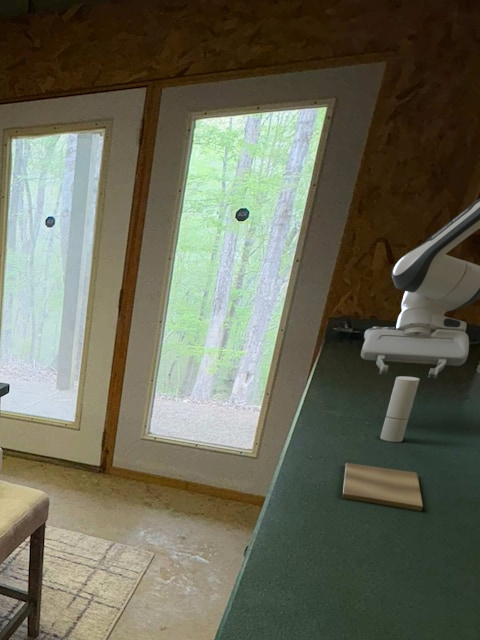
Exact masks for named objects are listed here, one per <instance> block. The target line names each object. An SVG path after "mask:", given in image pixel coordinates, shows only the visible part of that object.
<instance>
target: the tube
mask: <svg viewBox="0 0 480 640" xmlns="http://www.w3.org/2000/svg"><path fill="white" fill-rule="evenodd" d="M420 380H421V379H420V378H419V377H414V376H405V375H404V376H402V375H401V376H396V377H395V381H394V385H393V387H392V391H391V396H390V400H389V404H388V407H387V411H386V414H385V415H386V416H385V418H384V422H383V425H382V429H381V433H380V438H379V439H381V440H383V441H385V442H386V441H387V442H392V443H401V442H403V440H404V436H405V433H406V429H407V425H408V422H409V418H410V416H411V411H412V408H413V404H414V401H415V397H416V394H417V390H418V387H419V383H420Z"/></svg>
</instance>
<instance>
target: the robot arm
mask: <svg viewBox="0 0 480 640" xmlns="http://www.w3.org/2000/svg"><path fill="white" fill-rule="evenodd" d="M479 229H480V198H478V199H477V200H475V201H474V202H473V203H471V204H470V205H469V206H468V207H467V208H465V209H463V211H461V212H460V213H459V214H457V216H455V217H454V218H453V219H451V220H450V221H449V222H447V224H445V225H444V226H442V227H441V228H439V230H438V231H436V232H435V233H434V234H432V235H431V236H430V237H429V238H428V239H426V240H425V241H424V242H422V243H420V244H419V245H417V246H416V247H414V248H413V249H410V250H409V251H408V252H406V253H405V254H403V256H401V258H400V259H398V261H397V262H396V263H395V265H394V266H393V268H392V271H391V278H392V282H393V284H394V287H395V288H396V289H397V290H400V291H404V293H403V297H402V300H401V305H400V309H401V312H400V313H399V315H398V317H397V321H396V324H395V327H394V326H373V327H370V328H367V329H366V330H365V332H364V334H363V340H364V342H363V344H362V348H361V351H360V357H361V359H363V360H365V361H366V360H367V361H376V362H375V363H376V366H377V367H378V369H379V371H378V374H379V375H387V374H388V369H389V364H385V363H384V362H394V363H395V362H397V363H411V364H422V365H423V364H426V365H436V367H435V368H432V367H430V369H429V372H428V377H427V378H428V379H437V377H438V373H440V372H441V371H442V370H443V369H445V367H446V366H451V367H452V366H453V367H456V366H457V367H460V366H462V365H464V364H465V363H466V361H467V359H468V355H469V349H470V340H469V339H470V338H469V335H468V334H467V333H466V330H467V322H466V321H463V320H459V319H456V318H452V317H448V316H445V314H446V313H447V312H453V311H456V310H458V309H461V308H463V307H466V306H468V305H470V304H472V303H474V302H475V301H477V300H478V299H479V298H480V265H478V264H476V263H473V262H470V261H468V260H464V259H463V260H462V259H459V258H457V257H455V256H451V255H448V254H447V253H449V252H450V251H451V250H452V249H454V248H455V247H457V246H458V245H459V244H460V243H462V242H463V241H464V240H466V239H467V238H468V237H470V236H471V235H472V234H474V233H475V232H476V231H478V230H479Z"/></svg>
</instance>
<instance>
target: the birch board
mask: <svg viewBox="0 0 480 640" xmlns="http://www.w3.org/2000/svg"><path fill="white" fill-rule="evenodd" d="M419 482H420V481H419V476H418V473H417V472H414V471H408V470H407V471H406V470H399V469H392V468H386V467H385V468H384V467H380V466H379V467H377V466H372V465H371V466H370V465H363V464H357V463H349V462H346V463H345V465H344V475H343V482H342V483H343V485H342V493H341V494H342V495H341V499H346V500H352V501H358V502H363V503H370V504H376V505H383V506H389V507H395V508H400V509H408V510H413V511H418V512H422V511H423V508H424V504H423V499H422V494H421V488H420V483H419Z"/></svg>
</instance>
